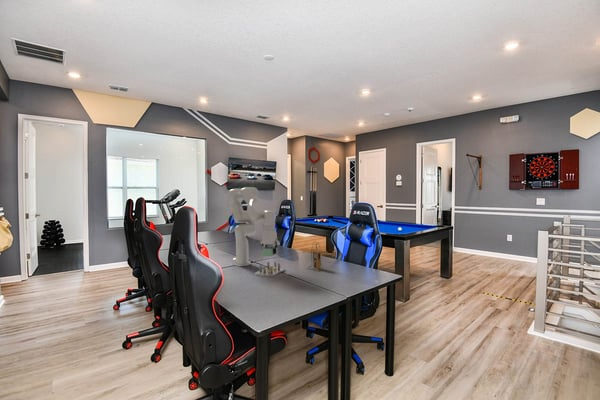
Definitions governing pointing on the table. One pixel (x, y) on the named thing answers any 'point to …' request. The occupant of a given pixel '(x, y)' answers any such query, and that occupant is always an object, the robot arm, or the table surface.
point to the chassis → (269, 270)
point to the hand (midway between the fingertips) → (270, 253)
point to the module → (268, 251)
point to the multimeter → (316, 258)
